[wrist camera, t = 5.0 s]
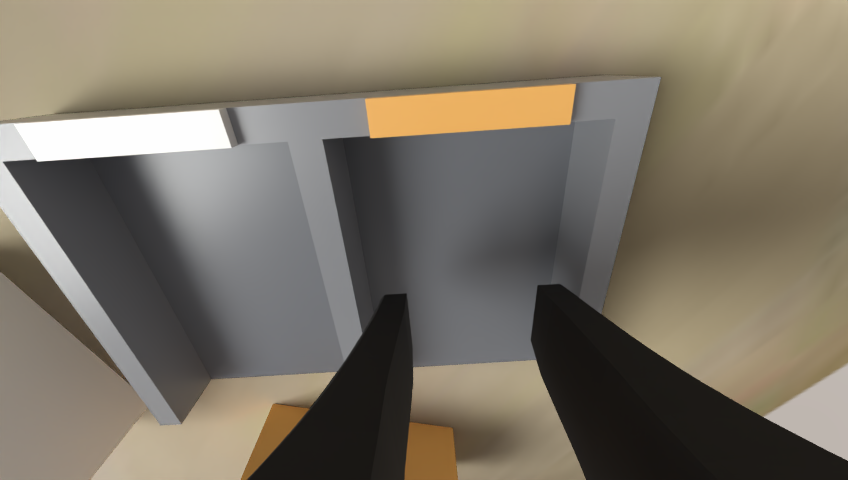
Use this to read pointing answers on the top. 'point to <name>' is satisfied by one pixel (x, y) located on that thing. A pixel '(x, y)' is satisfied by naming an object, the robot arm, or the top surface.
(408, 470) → the orange rectangular block
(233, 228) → the grey rectangular tray
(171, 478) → the top surface
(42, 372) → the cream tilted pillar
